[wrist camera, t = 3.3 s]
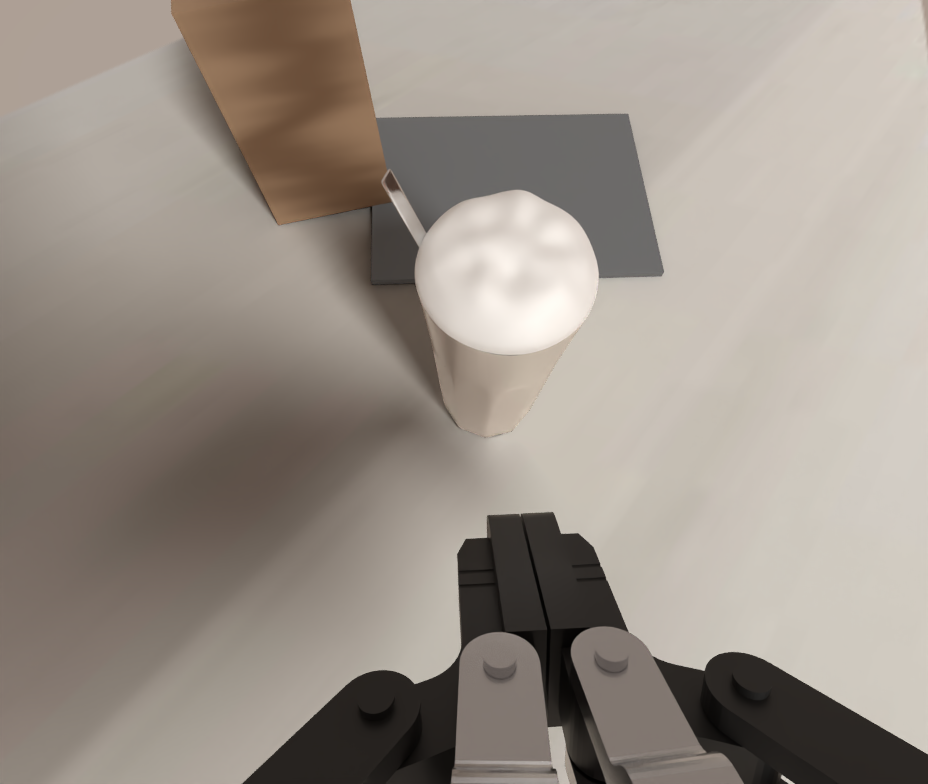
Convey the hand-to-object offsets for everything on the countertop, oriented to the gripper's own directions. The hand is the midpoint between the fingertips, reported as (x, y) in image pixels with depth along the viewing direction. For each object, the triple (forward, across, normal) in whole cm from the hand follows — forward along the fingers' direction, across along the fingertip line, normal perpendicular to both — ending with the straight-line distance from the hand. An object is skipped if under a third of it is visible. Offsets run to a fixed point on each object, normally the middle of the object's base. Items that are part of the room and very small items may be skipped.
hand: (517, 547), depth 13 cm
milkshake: (+9, 0, 0) cm, 9 cm away
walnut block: (+17, +6, -8) cm, 20 cm away
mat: (+16, -2, -7) cm, 17 cm away
